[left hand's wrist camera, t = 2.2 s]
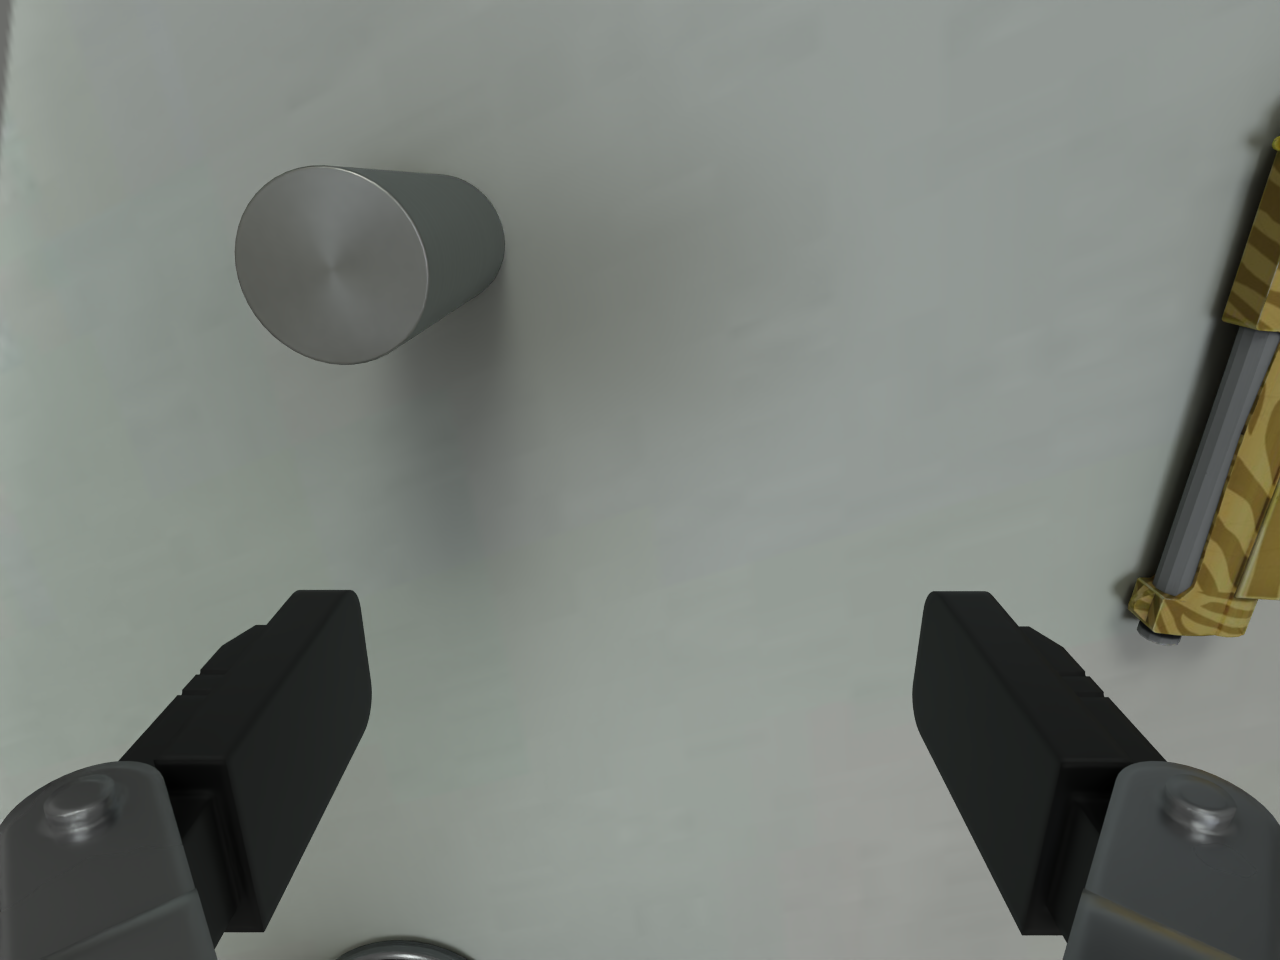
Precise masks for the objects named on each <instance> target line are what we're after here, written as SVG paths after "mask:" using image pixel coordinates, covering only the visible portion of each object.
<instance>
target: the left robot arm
mask: <svg viewBox="0 0 1280 960" xmlns="http://www.w3.org/2000/svg"><path fill="white" fill-rule="evenodd" d="M912 699H913V710H914V716H915V721H916V724H917V727H918V730H919V733H920V735H921V737H922V739H923V741H924V743H925V745H926V747H927V749H928V751H929V752H930V754H931V756H932V758H933V760H934V762H935V764H936V766H937V768H938V770H939V772H940V774H941V776H942V778H943V780H944V782H945V784H946V786H947V788H948V790H949V792H950V794H951V796H952V798H953V800H954V802H955V804H956V806H957V808H958V810H959V812H960V814H961V816H962V818H963V820H964V822H965V824H966V826H967V828H968V829H969V831H970V833H971V835H972V837H973V839H974V841H975V843H976V845H977V847H978V849H979V851H980V853H981V855H982V857H983V859H984V861H985V863H986V865H987V867H988V869H989V871H990V873H991V875H992V877H993V879H994V881H995V883H996V885H997V887H998V889H999V891H1000V893H1001V895H1002V897H1003V899H1004V901H1005V903H1006V905H1007V906H1008V908H1009V910H1010V912H1011V914H1012V916H1013V918H1014V920H1015V922H1016V924H1017V926H1018V928H1019V930H1020V932H1021V934H1022V935H1063V937H1064V939H1065V940H1066V942H1067V946H1066V950H1065V953H1064V957H1063V960H1280V825H1279V824H1278V822H1277V821H1276V819H1275V818H1274V817H1273V815H1272V814H1271V813H1270V812H1269V811H1268V810H1267V809H1266V808H1265V807H1264V806H1263V805H1262V804H1261V803H1259V802H1258V801H1257V800H1256V799H1255V798H1254V797H1252V796H1251V795H1249V794H1248V793H1246V792H1245V791H1243V790H1242V789H1240V788H1239V787H1237V786H1235V785H1233V784H1232V783H1230V782H1228V781H1226V780H1224V779H1222V778H1220V777H1218V776H1216V775H1213V774H1210V773H1208V772H1205V771H1203V770H1200V769H1197V768H1193V767H1190V766H1186V765H1182V764H1177V763H1171V762H1167V761H1166V760H1165V759H1164V758H1163V757H1162V756H1161V755H1160V754H1159V752H1158V751H1157V750H1156V749H1155V748H1154V747H1153V746H1152V745H1151V744H1150V743H1149V741H1148V740H1147V739H1146V738H1145V737H1144V736H1143V735H1142V734H1141V733H1140V731H1139V730H1138V729H1137V728H1136V727H1135V726H1134V725H1133V724H1132V723H1131V722H1130V720H1129V719H1128V718H1127V717H1126V716H1125V715H1124V714H1123V713H1122V712H1121V711H1120V709H1119V708H1118V707H1117V706H1116V705H1115V704H1114V703H1113V702H1112V701H1111V700H1110V698H1109V697H1104V692H1103V691H1102V690H1101V688H1100V687H1099V686H1098V685H1097V684H1096V683H1095V682H1094V681H1093V680H1092V679H1091V677H1090V676H1085V671H1084V670H1083V669H1082V668H1081V666H1080V665H1079V664H1078V663H1077V662H1076V661H1075V660H1074V659H1073V658H1072V657H1071V655H1070V654H1069V653H1068V652H1067V651H1066V650H1065V649H1064V648H1063V647H1062V646H1060V645H1059V644H1057V643H1055V642H1054V641H1052V640H1050V639H1049V638H1047V637H1045V636H1044V635H1042V634H1041V633H1039V632H1037V631H1036V630H1034V629H1032V628H1031V627H1019V626H1018V625H1017V624H1016V623H1015V622H1014V620H1013V619H1012V618H1011V617H1010V616H1009V615H1008V613H1007V612H1006V611H1005V610H1004V609H1003V607H1002V606H1001V605H1000V604H999V603H998V602H997V600H996V599H995V598H994V597H993V596H992V595H991V594H990V593H989V592H986V591H933V592H931V593H930V594H929V595H928V597H927V599H926V601H925V605H924V610H923V617H922V624H921V631H920V638H919V645H918V652H917V659H916V667H915V674H914V681H913V691H912ZM371 700H372V687H371V678H370V671H369V664H368V657H367V650H366V643H365V635H364V628H363V621H362V614H361V607H360V602H359V599H358V597H357V595H356V593H355V592H354V591H352V590H297V591H296V592H294V593H293V594H292V595H291V596H290V598H289V599H288V600H287V601H286V602H285V604H284V605H283V606H282V607H281V608H280V610H279V611H278V612H277V613H276V614H275V615H274V617H273V618H272V619H271V620H270V621H269V623H268V624H267V625H255V626H253V627H252V628H250V629H249V630H247V631H245V632H244V633H242V634H240V635H239V636H237V637H236V638H234V639H232V640H231V641H229V642H227V643H226V644H224V645H222V646H221V648H220V649H219V650H218V651H217V652H216V653H215V654H214V655H213V656H212V658H211V659H210V660H209V661H208V662H207V663H206V664H205V665H204V666H203V668H202V669H201V670H200V675H195V676H194V678H193V679H192V680H191V681H190V682H189V683H188V684H187V685H186V686H185V688H184V689H183V690H182V695H177V696H176V698H175V699H174V700H173V701H172V702H171V703H170V704H169V705H168V706H167V708H166V709H165V710H164V711H163V712H162V713H161V714H160V715H159V716H158V718H157V719H156V720H155V721H154V722H153V723H152V724H151V725H150V726H149V728H148V729H147V730H146V731H145V732H144V733H143V734H142V735H141V736H140V738H139V739H138V740H137V741H136V742H135V743H134V744H133V745H132V746H131V748H130V749H129V750H128V751H127V752H126V753H125V754H124V755H123V757H122V758H121V759H120V760H119V761H116V762H109V763H103V764H98V765H94V766H90V767H87V768H83V769H80V770H77V771H75V772H72V773H70V774H67V775H64V776H62V777H60V778H58V779H56V780H54V781H52V782H50V783H48V784H47V785H45V786H43V787H41V788H40V789H38V790H37V791H35V792H34V793H32V794H31V795H29V796H28V797H26V798H25V799H24V800H23V801H22V802H21V803H19V804H18V805H17V806H16V807H15V808H14V809H13V810H12V811H11V812H10V813H9V814H8V815H7V817H6V818H5V819H4V821H3V822H2V824H1V825H0V960H217V957H216V953H215V950H214V949H215V947H216V946H217V944H218V942H219V940H220V938H221V937H222V935H223V933H224V932H264V931H265V929H266V927H267V925H268V923H269V921H270V919H271V917H272V915H273V913H274V911H275V909H276V907H277V905H278V903H279V901H280V899H281V897H282V895H283V893H284V891H285V889H286V887H287V885H288V883H289V881H290V879H291V877H292V875H293V873H294V871H295V869H296V867H297V865H298V863H299V861H300V859H301V857H302V855H303V853H304V851H305V849H306V847H307V845H308V843H309V841H310V839H311V837H312V835H313V833H314V831H315V829H316V827H317V825H318V823H319V821H320V819H321V817H322V815H323V813H324V811H325V809H326V807H327V805H328V803H329V801H330V799H331V797H332V795H333V793H334V791H335V789H336V787H337V785H338V783H339V781H340V779H341V777H342V775H343V773H344V771H345V770H346V768H347V766H348V764H349V762H350V760H351V758H352V756H353V754H354V752H355V750H356V748H357V746H358V744H359V742H360V740H361V738H362V736H363V734H364V731H365V729H366V726H367V723H368V720H369V715H370V709H371ZM336 960H467V959H465V958H463V957H461V956H460V955H458V954H456V953H454V952H451V951H449V950H447V949H444V948H441V947H438V946H434V945H431V944H426V943H421V942H414V941H384V942H377V943H372V944H368V945H364V946H361V947H359V948H356V949H354V950H351V951H349V952H347V953H345V954H344V955H342V956H340V957H339V958H338V959H336Z"/></svg>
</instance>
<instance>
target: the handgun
mask: <svg viewBox="0 0 1280 960" xmlns="http://www.w3.org/2000/svg"><path fill="white" fill-rule="evenodd" d="M1272 147H1273V149H1275V150H1277V153H1276V156H1275V159H1274V162H1273V165H1272V168H1271V171H1270V174H1269V177H1268V180H1267V183H1266V186H1265V189H1264V192H1263V195H1262V198H1261V201H1260V204H1259V207H1258V211H1257V214H1256V217H1255V220H1254V223H1253V226H1252V229H1251V232H1250V235H1249V238H1248V241H1247V244H1246V247H1245V250H1244V253H1243V256H1242V259H1241V262H1240V265H1239V268H1238V271H1237V274H1236V277H1235V280H1234V283H1233V286H1232V289H1231V292H1230V295H1229V298H1228V301H1227V304H1226V307H1225V310H1224V313H1223V316H1222V320H1223V321H1224V322H1227V323H1231V324H1235V325H1239V326H1240V328H1239V331H1238V334H1237V336H1236V339H1235V342H1234V345H1233V348H1232V351H1231V354H1230V357H1229V360H1228V363H1227V366H1226V369H1225V372H1224V375H1223V378H1222V381H1221V383H1220V386H1219V389H1218V392H1217V395H1216V398H1215V401H1214V404H1213V407H1212V410H1211V413H1210V416H1209V419H1208V422H1207V425H1206V428H1205V430H1204V433H1203V436H1202V439H1201V442H1200V445H1199V448H1198V451H1197V454H1196V457H1195V460H1194V463H1193V466H1192V469H1191V472H1190V475H1189V478H1188V480H1187V483H1186V486H1185V489H1184V492H1183V495H1182V498H1181V501H1180V504H1179V507H1178V510H1177V513H1176V516H1175V519H1174V522H1173V525H1172V527H1171V530H1170V533H1169V536H1168V539H1167V542H1166V545H1165V548H1164V551H1163V554H1162V557H1161V560H1160V563H1159V566H1158V569H1157V572H1156V574H1155V575H1153V576H1152V577H1151V578H1138V579H1137V581H1136V584H1135V587H1134V590H1133V593H1132V596H1131V599H1130V601H1129V604H1128V610H1129V611H1130V612H1132V613H1133V614H1134V615H1135V616H1136V617H1137V618H1138V619H1139V620H1140V621H1139V624H1138V627H1137V630H1138V632H1139V634H1140V635H1141V636H1143V637H1144V638H1146V639H1147V640H1149V641H1152V642H1155V643H1157V644H1161V645H1167V646H1170V645H1178V643H1179V642H1180V639H1181V636H1209V635H1216V636H1222V637H1239V636H1241V635H1244V634H1245V631H1246V629H1247V626H1248V624H1249V621H1250V619H1251V616H1252V614H1253V611H1254V609H1255V606H1256V604H1257V601H1258V599H1268V600H1280V136H1278V137H1276V138H1275V139H1274V140H1273V143H1272Z"/></svg>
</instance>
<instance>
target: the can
mask: <svg viewBox="0 0 1280 960" xmlns="http://www.w3.org/2000/svg"><path fill="white" fill-rule="evenodd" d="M504 244H505V243H504V233H503V228H502V225H501V222H500V219H499V216H498V214H497V212H496V210H495V209H494V207H493V205H492V204H491V202H490V201H489V200H488V199H487V198H486V196H485V195H484V194H482V193H481V192H480V191H479V190H478V189H477V188H475V187H474V186H473V185H471V184H469V183H467V182H466V181H464V180H461V179H459V178H456V177H452V176H448V175H439V174H426V173H414V172H401V171H389V170H376V169H363V168H351V167H338V166H325V165H320V166H307V167H301V168H297V169H294V170H290V171H287V172H285V173H283V174H281V175H279V176H277V177H275V178H274V179H272V180H271V181H270V182H268V183H267V184H265V185H264V186H263V187H262V188H261V189H260V190H259V191H258V192H257V193H256V194H255V196H254V197H253V198H252V200H251V201H250V202H249V204H248V206H247V207H246V209H245V211H244V213H243V215H242V218H241V221H240V223H239V226H238V231H237V236H236V242H235V263H236V270H237V275H238V279H239V283H240V286H241V289H242V292H243V294H244V296H245V298H246V300H247V303H248V304H249V306H250V308H251V309H252V311H253V313H254V314H255V316H256V317H257V318H258V320H259V321H260V322H261V323H262V325H263V326H264V327H265V328H266V329H267V330H268V331H269V332H270V333H271V334H272V335H273V336H274V337H275V338H277V339H278V340H279V341H280V342H281V343H283V344H284V345H286V346H287V347H289V348H290V349H292V350H293V351H295V352H297V353H299V354H301V355H303V356H306V357H308V358H311V359H314V360H317V361H321V362H325V363H329V364H339V365H352V364H360V363H366V362H369V361H372V360H376V359H378V358H380V357H383V356H385V355H387V354H389V353H390V352H392V351H393V350H395V349H396V348H398V347H399V346H401V345H402V344H404V343H405V342H407V341H408V340H410V339H411V338H413V337H414V336H416V335H418V334H419V333H421V332H422V331H424V330H425V329H427V328H428V327H430V326H431V325H433V324H434V323H436V322H437V321H439V320H440V319H442V318H443V317H445V316H446V315H448V314H449V313H451V312H452V311H454V310H455V309H457V308H458V307H460V306H461V305H463V304H464V303H466V302H467V301H469V300H470V299H472V298H473V297H475V296H476V295H478V294H479V293H481V292H482V291H483V290H485V289H486V288H487V287H488V286H489V285H490V284H491V282H492V281H493V280H494V278H495V277H496V275H497V273H498V271H499V269H500V267H501V263H502V260H503V255H504Z"/></svg>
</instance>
